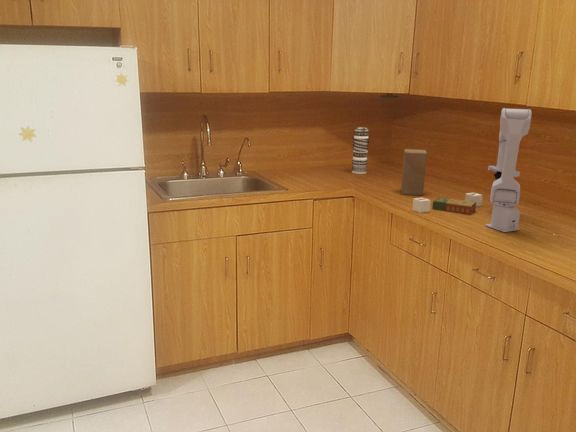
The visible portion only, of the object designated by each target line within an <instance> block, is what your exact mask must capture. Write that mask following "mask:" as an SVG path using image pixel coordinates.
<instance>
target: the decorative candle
mask: <svg viewBox="0 0 576 432" xmlns="http://www.w3.org/2000/svg"><path fill="white" fill-rule="evenodd" d="M369 143H370V138H369V129H368V128H367V126H365V127H364V126H357V127H355V129H354V135H353V137H352V146H353V147H352V152H353V155H352V161H351V162H352V165H351V174H352V173H353V174H356V175H357V174H359V175H360V174H361V175H364V174H366V173H368V172H367V171H368V169H367V168H368V166H367V165H368V157H367V156H368V152H369V151H368V150H369V145H368V144H369Z"/></svg>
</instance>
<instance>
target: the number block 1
mask: <svg viewBox="0 0 576 432" xmlns="http://www.w3.org/2000/svg"><path fill="white" fill-rule="evenodd" d="M431 203H432V200H431V199H428V198H425V197H415V198H413V199H412V211H414V212H417V213H419V214H422V213H430V211H431Z"/></svg>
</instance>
